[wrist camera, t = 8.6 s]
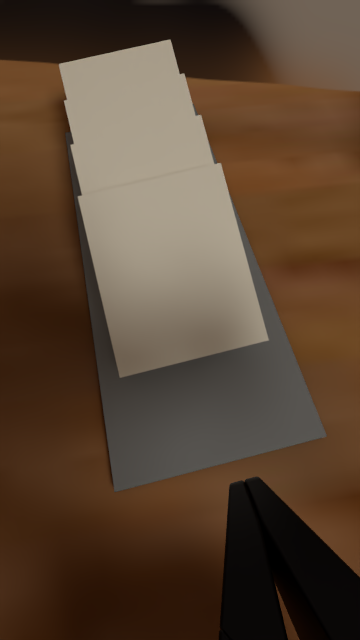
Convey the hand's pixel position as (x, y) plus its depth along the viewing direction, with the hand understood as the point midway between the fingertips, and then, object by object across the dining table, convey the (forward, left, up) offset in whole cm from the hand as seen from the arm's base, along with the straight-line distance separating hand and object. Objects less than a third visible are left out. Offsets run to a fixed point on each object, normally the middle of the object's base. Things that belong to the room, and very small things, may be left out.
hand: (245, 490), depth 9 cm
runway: (+13, -9, -11) cm, 20 cm away
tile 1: (+6, -4, -10) cm, 12 cm away
